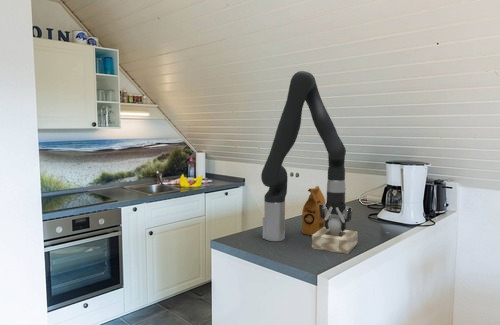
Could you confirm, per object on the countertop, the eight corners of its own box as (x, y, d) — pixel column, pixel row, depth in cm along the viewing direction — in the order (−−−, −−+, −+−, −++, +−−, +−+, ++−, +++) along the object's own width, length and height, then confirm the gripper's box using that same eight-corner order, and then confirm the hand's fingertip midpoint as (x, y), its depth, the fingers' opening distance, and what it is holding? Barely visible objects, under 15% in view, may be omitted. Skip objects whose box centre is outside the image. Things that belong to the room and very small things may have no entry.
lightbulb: (326, 243, 153) (326, 218, 152) (328, 239, 159) (329, 214, 158) (341, 245, 151) (341, 219, 150) (343, 241, 157) (343, 215, 156)
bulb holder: (311, 248, 152) (312, 235, 152) (323, 238, 165) (323, 226, 165) (347, 254, 145) (348, 240, 144) (357, 244, 158) (357, 231, 157)
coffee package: (298, 234, 173) (298, 188, 171) (309, 228, 183) (310, 184, 181) (318, 237, 168) (318, 189, 166) (328, 231, 178) (329, 186, 176)
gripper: (316, 190, 153) (315, 229, 155) (350, 193, 146) (349, 234, 148) (322, 187, 160) (321, 225, 161) (355, 190, 153) (354, 230, 154)
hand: (335, 229), depth 154 cm, fingers closed on lightbulb, 6 cm apart
